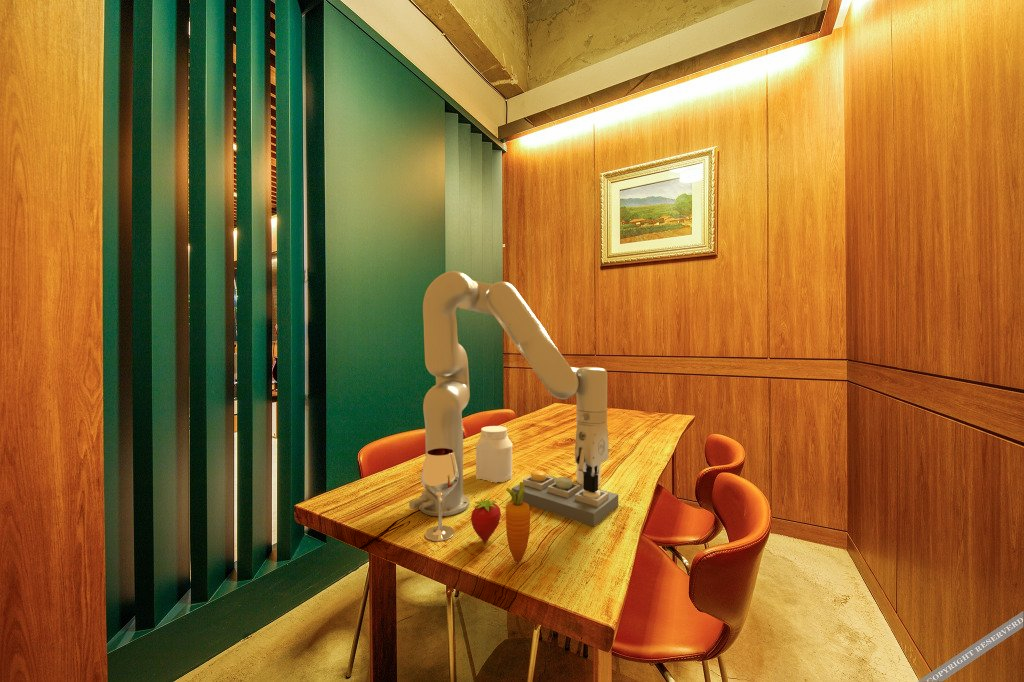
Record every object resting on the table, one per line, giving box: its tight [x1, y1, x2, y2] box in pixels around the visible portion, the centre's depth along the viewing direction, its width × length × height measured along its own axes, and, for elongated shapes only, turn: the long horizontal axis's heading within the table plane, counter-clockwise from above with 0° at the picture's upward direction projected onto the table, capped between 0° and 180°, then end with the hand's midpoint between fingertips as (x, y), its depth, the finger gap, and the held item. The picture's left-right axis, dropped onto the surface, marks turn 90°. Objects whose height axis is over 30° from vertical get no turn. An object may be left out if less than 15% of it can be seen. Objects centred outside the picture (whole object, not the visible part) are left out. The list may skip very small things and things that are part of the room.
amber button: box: [530, 470, 547, 482], centre depth 103 cm, size 4×4×2 cm
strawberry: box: [470, 494, 502, 543], centre depth 79 cm, size 6×8×10 cm
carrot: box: [505, 481, 531, 564], centre depth 71 cm, size 5×5×15 cm
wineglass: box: [420, 448, 459, 542], centre depth 82 cm, size 8×8×18 cm
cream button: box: [583, 490, 600, 499], centre depth 93 cm, size 4×4×2 cm
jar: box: [475, 425, 513, 484], centre depth 118 cm, size 12×10×15 cm
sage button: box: [555, 476, 573, 489], centre depth 98 cm, size 4×4×2 cm
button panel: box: [511, 474, 619, 528], centre depth 98 cm, size 14×24×4 cm, turn 52°
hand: (590, 490), depth 93 cm, fingers closed
